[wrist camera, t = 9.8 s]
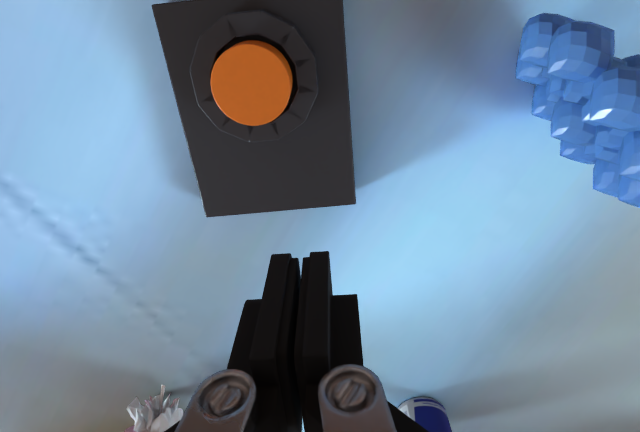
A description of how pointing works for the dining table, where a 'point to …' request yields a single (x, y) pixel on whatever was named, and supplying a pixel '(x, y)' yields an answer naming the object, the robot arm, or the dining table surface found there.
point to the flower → (154, 414)
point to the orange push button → (251, 82)
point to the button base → (283, 132)
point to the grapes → (586, 98)
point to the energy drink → (427, 414)
